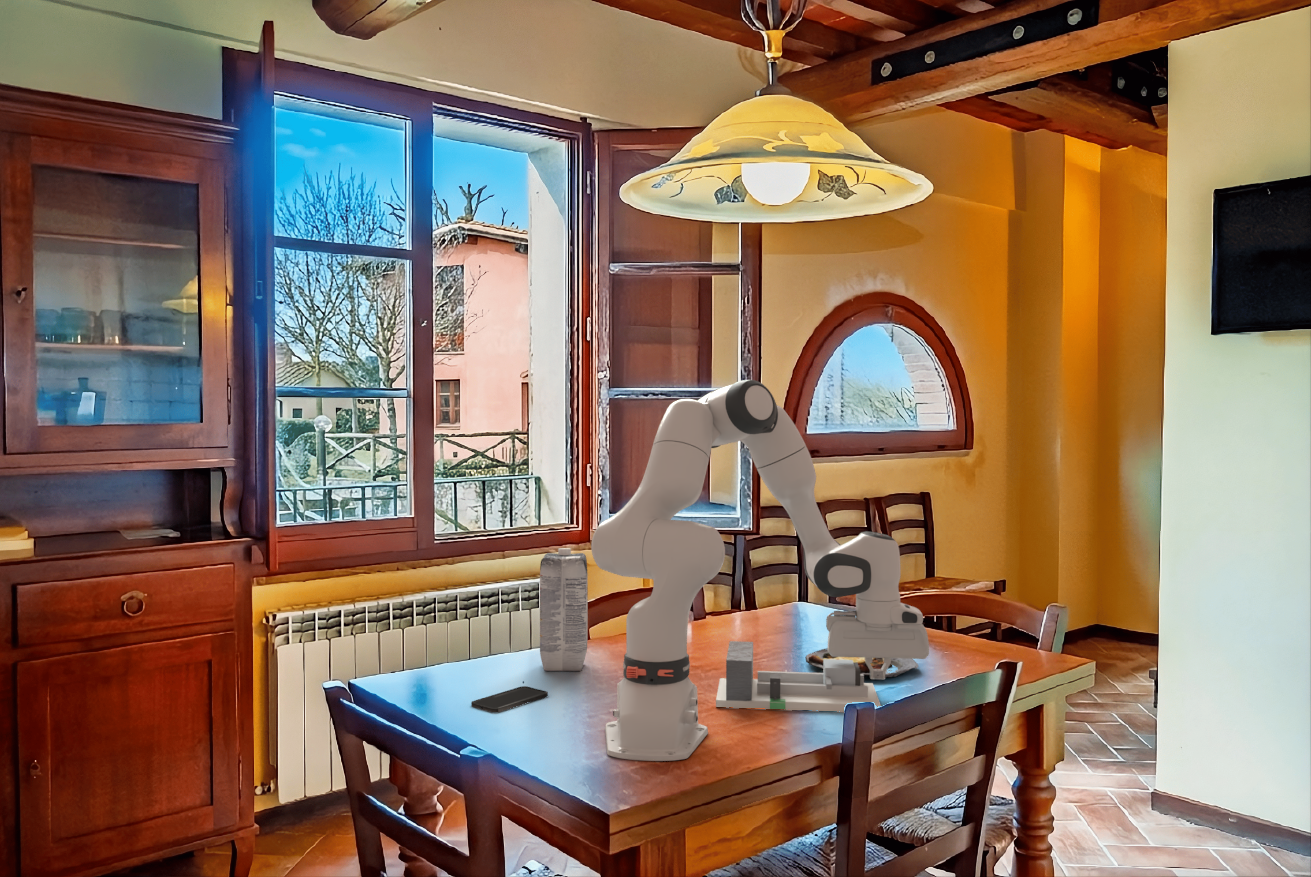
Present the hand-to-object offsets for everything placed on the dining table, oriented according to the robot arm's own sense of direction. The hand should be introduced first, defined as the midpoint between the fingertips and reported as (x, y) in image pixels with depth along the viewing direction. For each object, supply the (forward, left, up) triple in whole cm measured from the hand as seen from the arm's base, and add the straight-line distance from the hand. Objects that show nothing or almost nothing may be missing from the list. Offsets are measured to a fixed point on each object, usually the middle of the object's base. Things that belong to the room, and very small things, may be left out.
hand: (877, 678), depth 204 cm
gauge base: (-3, +16, -4) cm, 17 cm away
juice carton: (+15, +68, -4) cm, 70 cm away
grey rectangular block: (-3, +28, -2) cm, 28 cm away
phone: (-12, +74, -5) cm, 75 cm away
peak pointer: (-9, +21, -2) cm, 23 cm away
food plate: (+23, +2, -4) cm, 23 cm away
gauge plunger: (-3, +7, -2) cm, 8 cm away
